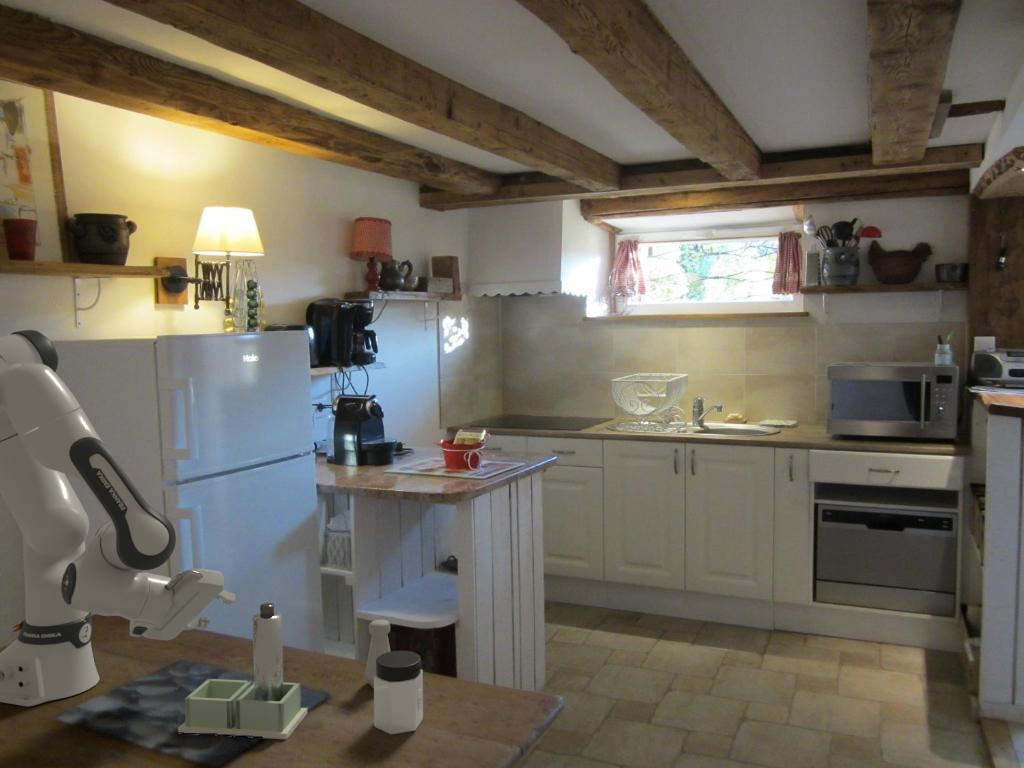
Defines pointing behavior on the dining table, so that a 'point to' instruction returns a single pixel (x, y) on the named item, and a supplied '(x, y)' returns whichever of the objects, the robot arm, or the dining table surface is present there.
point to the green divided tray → (242, 710)
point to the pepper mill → (268, 654)
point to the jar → (398, 692)
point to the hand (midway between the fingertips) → (220, 611)
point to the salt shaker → (377, 646)
